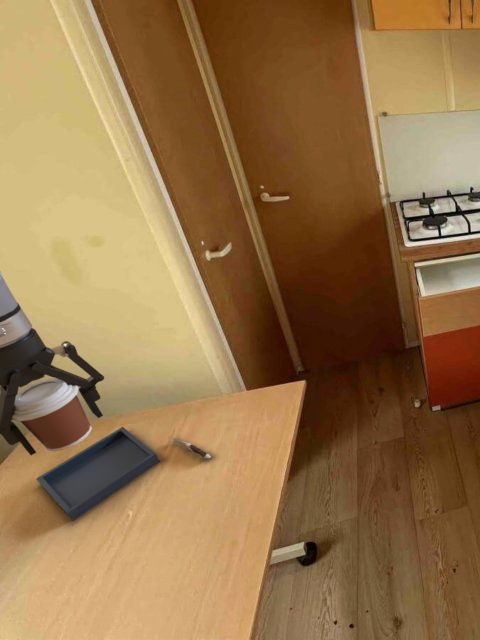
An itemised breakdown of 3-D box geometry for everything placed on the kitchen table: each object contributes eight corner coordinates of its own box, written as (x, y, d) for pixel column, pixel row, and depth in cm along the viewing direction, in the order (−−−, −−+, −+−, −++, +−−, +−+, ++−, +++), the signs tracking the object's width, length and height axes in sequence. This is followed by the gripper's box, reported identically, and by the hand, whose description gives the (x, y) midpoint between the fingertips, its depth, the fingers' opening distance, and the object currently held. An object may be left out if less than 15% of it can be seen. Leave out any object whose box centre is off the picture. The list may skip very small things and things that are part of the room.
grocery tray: (42, 486, 92) (35, 478, 91) (127, 433, 104) (122, 426, 103) (73, 521, 85) (67, 513, 84) (160, 461, 97) (155, 453, 96)
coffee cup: (52, 464, 76) (17, 417, 71) (25, 447, 79) (-10, 401, 74) (111, 426, 84) (83, 381, 78) (84, 412, 87) (56, 368, 81)
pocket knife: (212, 458, 98) (210, 452, 97) (209, 461, 97) (206, 455, 97) (175, 438, 103) (172, 433, 102) (171, 441, 102) (168, 436, 101)
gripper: (-98, 388, 60) (-10, 487, 71) (94, 312, 77) (142, 401, 88) (-110, 369, 63) (-25, 467, 74) (76, 301, 80) (124, 388, 91)
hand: (65, 431), depth 81 cm, fingers closed on coffee cup, 9 cm apart
